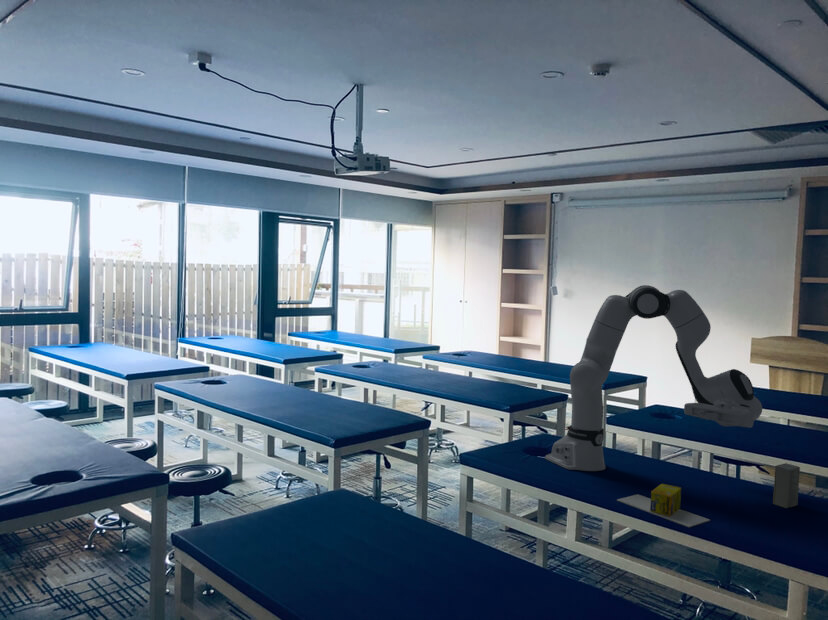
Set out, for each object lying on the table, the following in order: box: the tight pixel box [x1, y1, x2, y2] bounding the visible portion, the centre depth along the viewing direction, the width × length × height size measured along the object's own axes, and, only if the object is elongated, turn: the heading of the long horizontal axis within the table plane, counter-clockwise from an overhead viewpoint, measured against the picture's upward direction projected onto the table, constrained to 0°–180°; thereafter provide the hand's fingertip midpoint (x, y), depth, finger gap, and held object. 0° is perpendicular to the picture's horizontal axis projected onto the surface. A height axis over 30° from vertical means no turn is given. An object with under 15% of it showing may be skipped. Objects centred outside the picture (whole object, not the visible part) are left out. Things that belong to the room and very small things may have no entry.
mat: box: [616, 493, 711, 528], centre depth 183 cm, size 24×10×1 cm, turn 34°
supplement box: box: [650, 483, 683, 516], centre depth 183 cm, size 6×6×11 cm
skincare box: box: [772, 463, 801, 509], centre depth 191 cm, size 6×4×12 cm
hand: (703, 416), depth 196 cm, fingers closed
